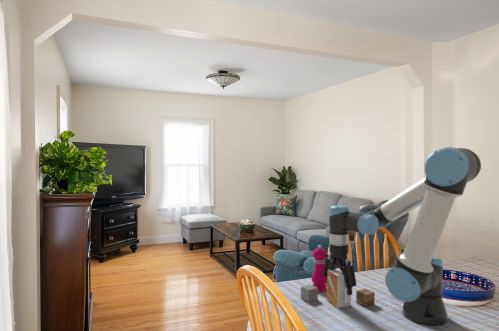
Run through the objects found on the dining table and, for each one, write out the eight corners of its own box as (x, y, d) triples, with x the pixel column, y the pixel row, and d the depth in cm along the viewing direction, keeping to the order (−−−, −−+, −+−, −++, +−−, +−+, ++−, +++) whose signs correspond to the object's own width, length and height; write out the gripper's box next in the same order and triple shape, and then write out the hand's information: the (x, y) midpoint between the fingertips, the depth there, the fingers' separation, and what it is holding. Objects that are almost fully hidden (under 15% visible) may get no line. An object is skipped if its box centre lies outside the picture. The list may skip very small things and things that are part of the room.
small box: (326, 300, 151) (326, 269, 150) (340, 298, 152) (340, 267, 152) (337, 308, 143) (337, 275, 143) (351, 306, 145) (351, 273, 144)
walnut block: (374, 304, 147) (374, 292, 146) (366, 307, 144) (366, 294, 144) (364, 300, 151) (364, 288, 151) (356, 302, 148) (356, 290, 148)
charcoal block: (317, 299, 152) (317, 287, 152) (308, 302, 149) (308, 290, 149) (309, 295, 156) (309, 284, 156) (300, 298, 153) (300, 286, 153)
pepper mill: (326, 286, 167) (326, 243, 167) (328, 292, 160) (328, 247, 159) (310, 285, 168) (310, 243, 167) (312, 291, 161) (312, 246, 160)
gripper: (366, 248, 140) (366, 305, 140) (326, 237, 158) (326, 288, 159) (353, 250, 136) (352, 309, 136) (313, 239, 154) (313, 291, 155)
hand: (338, 298), depth 148 cm, fingers closed on small box, 9 cm apart
